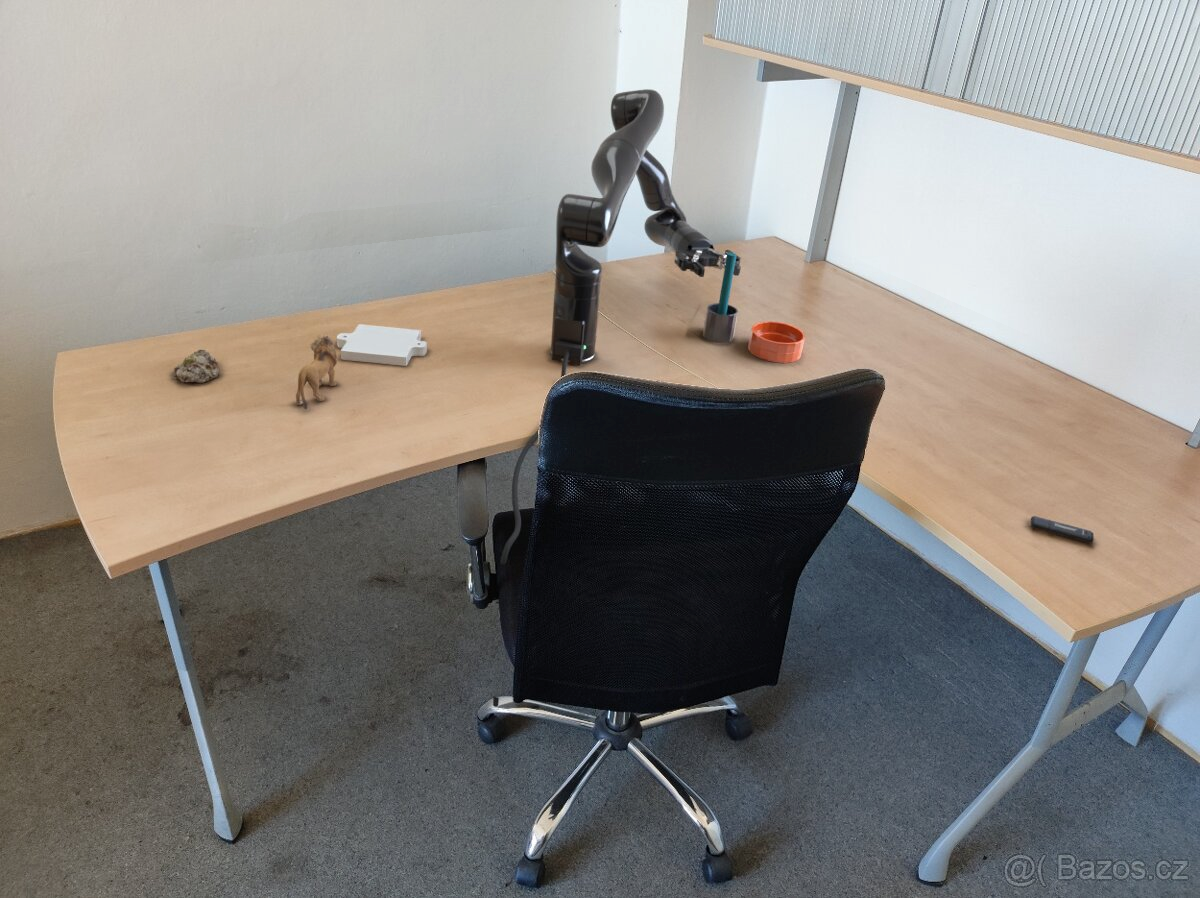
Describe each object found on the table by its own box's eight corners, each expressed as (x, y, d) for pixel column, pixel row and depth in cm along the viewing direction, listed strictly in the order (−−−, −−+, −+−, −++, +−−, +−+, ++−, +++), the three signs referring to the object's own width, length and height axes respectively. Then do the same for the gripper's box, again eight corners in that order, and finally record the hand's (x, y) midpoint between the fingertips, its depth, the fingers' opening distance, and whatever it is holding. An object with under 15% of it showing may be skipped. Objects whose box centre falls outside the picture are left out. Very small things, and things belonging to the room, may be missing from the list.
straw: (721, 337, 199) (735, 256, 189) (712, 336, 199) (726, 254, 189) (723, 334, 200) (737, 253, 190) (714, 332, 201) (728, 251, 191)
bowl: (797, 369, 190) (802, 347, 187) (744, 358, 192) (748, 337, 189) (802, 347, 199) (807, 327, 197) (751, 337, 202) (755, 317, 199)
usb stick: (1029, 528, 146) (1032, 521, 145) (1029, 520, 148) (1032, 513, 147) (1091, 546, 143) (1095, 538, 142) (1090, 537, 145) (1093, 529, 144)
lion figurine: (314, 373, 170) (310, 330, 165) (343, 375, 170) (339, 332, 165) (291, 410, 157) (286, 365, 152) (321, 413, 157) (317, 367, 153)
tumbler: (730, 346, 196) (735, 317, 193) (700, 340, 198) (704, 311, 194) (734, 335, 202) (740, 306, 198) (705, 329, 203) (710, 301, 200)
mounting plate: (328, 358, 175) (327, 349, 174) (347, 331, 186) (347, 322, 185) (419, 367, 175) (418, 358, 174) (432, 339, 186) (432, 331, 185)
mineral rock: (214, 375, 161) (167, 362, 159) (210, 395, 163) (164, 383, 161) (230, 351, 170) (186, 339, 168) (226, 370, 172) (183, 358, 170)
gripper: (665, 232, 204) (693, 256, 191) (721, 230, 208) (752, 254, 196) (661, 263, 208) (688, 289, 195) (716, 261, 212) (746, 287, 200)
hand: (720, 272), depth 195 cm, fingers open, 8 cm apart
